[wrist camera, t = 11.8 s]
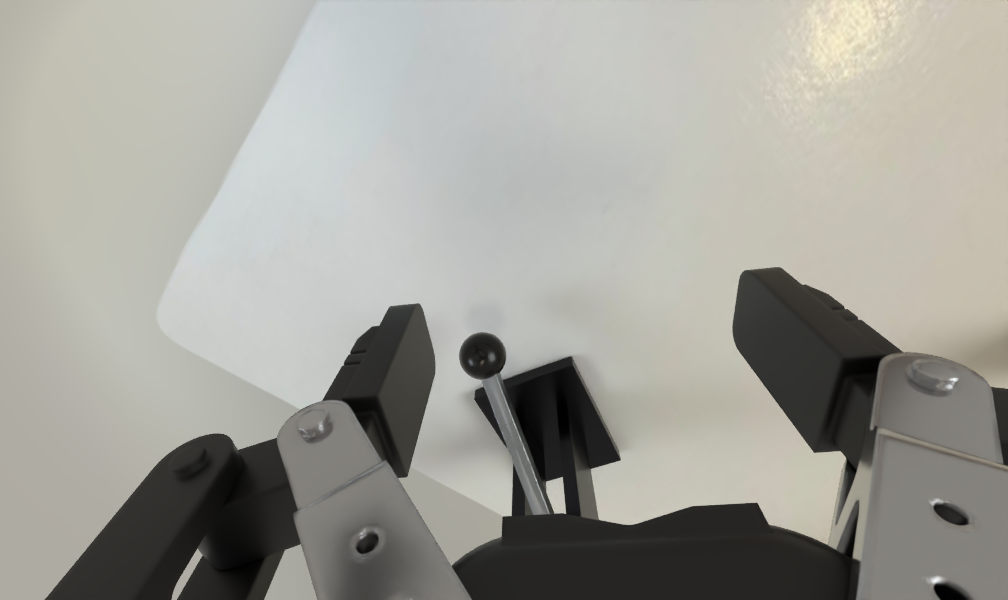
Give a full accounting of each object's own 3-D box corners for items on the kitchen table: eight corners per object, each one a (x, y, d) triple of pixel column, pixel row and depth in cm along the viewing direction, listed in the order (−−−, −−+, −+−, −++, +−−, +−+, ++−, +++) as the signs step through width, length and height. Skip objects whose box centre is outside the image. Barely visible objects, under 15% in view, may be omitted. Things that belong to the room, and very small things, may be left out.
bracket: (475, 389, 38) (452, 543, 26) (571, 355, 36) (595, 506, 24) (531, 475, 43) (534, 637, 31) (618, 450, 41) (658, 614, 29)
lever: (461, 338, 32) (445, 345, 28) (501, 323, 31) (488, 328, 28) (547, 562, 31) (540, 594, 28) (590, 552, 30) (587, 583, 27)
